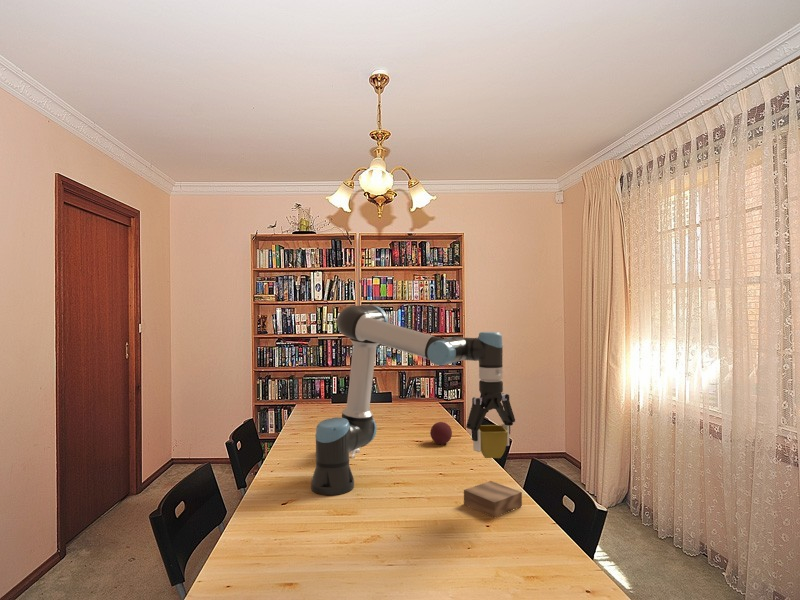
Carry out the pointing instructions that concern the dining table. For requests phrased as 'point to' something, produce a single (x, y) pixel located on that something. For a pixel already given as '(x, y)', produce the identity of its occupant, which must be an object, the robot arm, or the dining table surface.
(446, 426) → the decorative ball
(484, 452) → the flower pot
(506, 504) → the walnut block
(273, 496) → the dining table surface
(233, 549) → the dining table surface
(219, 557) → the dining table surface
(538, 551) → the dining table surface
